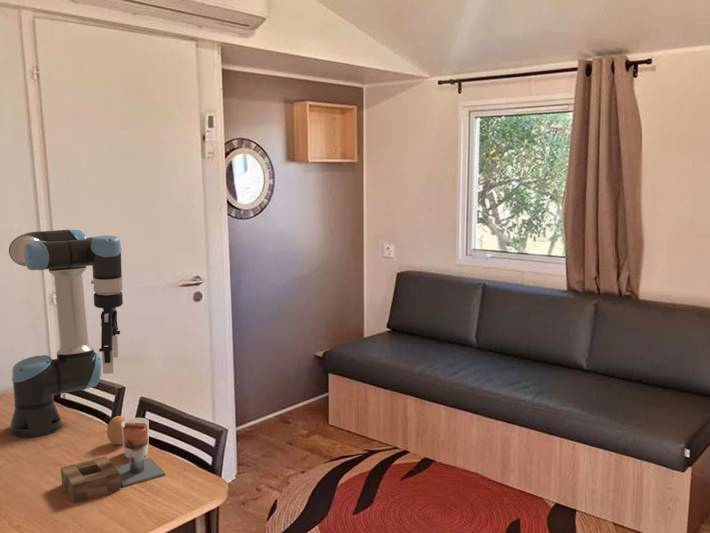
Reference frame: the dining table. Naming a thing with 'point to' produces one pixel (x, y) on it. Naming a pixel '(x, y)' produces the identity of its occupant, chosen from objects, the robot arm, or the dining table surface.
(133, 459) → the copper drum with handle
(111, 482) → the eye block
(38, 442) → the dining table surface
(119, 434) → the egg
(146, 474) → the mat
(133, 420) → the white cup
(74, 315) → the robot arm
